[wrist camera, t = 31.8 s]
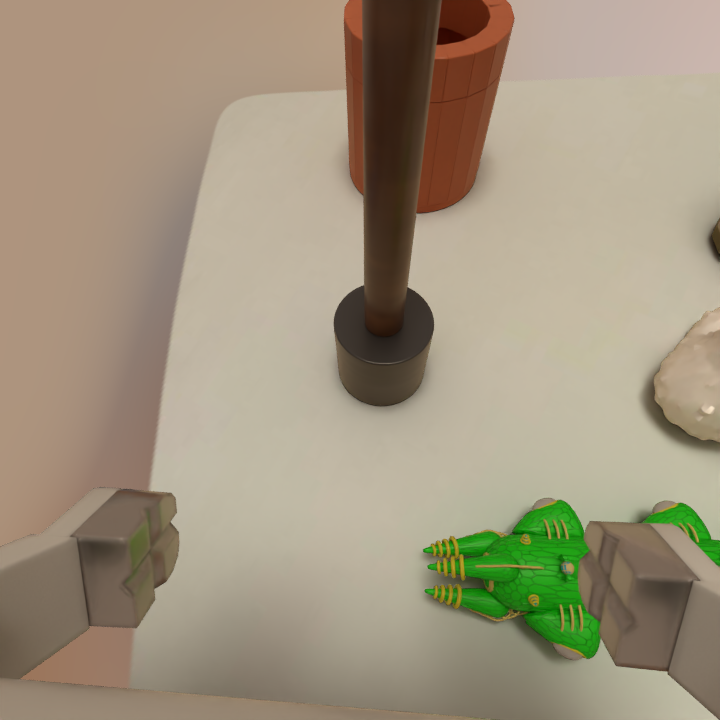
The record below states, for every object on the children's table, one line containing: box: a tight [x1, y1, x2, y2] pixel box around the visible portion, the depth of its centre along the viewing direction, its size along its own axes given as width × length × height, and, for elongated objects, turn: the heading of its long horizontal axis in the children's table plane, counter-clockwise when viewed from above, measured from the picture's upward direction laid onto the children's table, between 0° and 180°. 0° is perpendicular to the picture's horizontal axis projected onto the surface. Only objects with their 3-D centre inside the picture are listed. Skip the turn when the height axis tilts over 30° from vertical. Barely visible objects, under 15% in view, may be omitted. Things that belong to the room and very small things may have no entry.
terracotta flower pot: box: [344, 0, 514, 213], centre depth 33 cm, size 10×10×11 cm
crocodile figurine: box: [423, 498, 720, 660], centre depth 21 cm, size 7×18×4 cm, turn 89°
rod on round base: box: [334, 0, 442, 406], centre depth 18 cm, size 5×5×24 cm
